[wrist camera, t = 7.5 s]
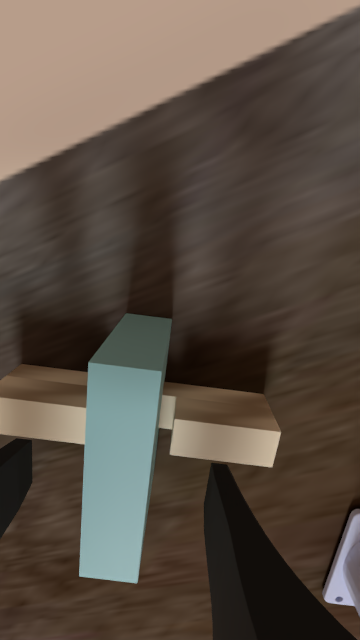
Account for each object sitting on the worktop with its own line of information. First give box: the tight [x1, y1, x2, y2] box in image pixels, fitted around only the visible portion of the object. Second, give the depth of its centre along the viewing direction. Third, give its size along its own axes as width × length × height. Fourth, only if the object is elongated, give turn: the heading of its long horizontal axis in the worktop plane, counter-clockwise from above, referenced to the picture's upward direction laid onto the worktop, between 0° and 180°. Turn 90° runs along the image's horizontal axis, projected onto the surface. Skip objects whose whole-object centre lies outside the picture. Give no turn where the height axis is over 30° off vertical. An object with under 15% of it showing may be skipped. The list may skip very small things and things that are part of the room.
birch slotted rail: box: [0, 364, 281, 467], centre depth 16 cm, size 14×2×4 cm, turn 83°
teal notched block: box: [79, 313, 172, 583], centre depth 15 cm, size 2×10×6 cm, turn 173°
